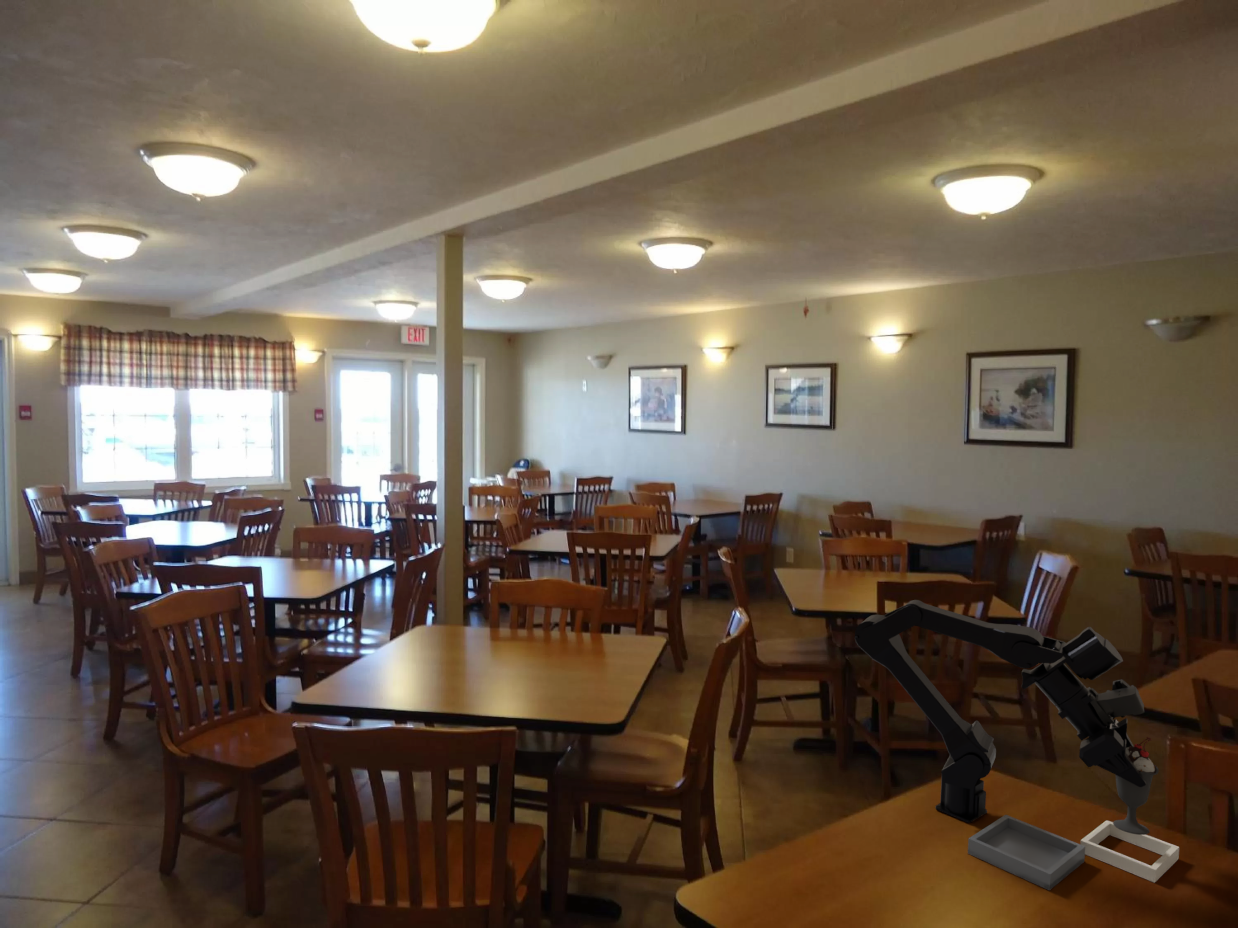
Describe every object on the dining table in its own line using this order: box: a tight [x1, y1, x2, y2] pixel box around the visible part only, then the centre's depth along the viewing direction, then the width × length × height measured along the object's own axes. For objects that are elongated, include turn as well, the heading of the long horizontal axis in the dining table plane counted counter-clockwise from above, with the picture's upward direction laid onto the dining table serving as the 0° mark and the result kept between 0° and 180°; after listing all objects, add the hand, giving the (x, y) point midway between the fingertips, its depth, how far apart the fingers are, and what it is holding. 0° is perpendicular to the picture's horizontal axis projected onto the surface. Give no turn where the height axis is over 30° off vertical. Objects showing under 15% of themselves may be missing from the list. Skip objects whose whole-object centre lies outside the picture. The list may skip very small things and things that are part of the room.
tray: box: [967, 814, 1086, 891], centre depth 129 cm, size 13×13×2 cm
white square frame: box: [1079, 820, 1180, 884], centre depth 130 cm, size 11×11×2 cm
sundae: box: [1112, 736, 1159, 835], centre depth 129 cm, size 7×7×15 cm
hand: (1143, 777), depth 129 cm, fingers closed on sundae, 6 cm apart
